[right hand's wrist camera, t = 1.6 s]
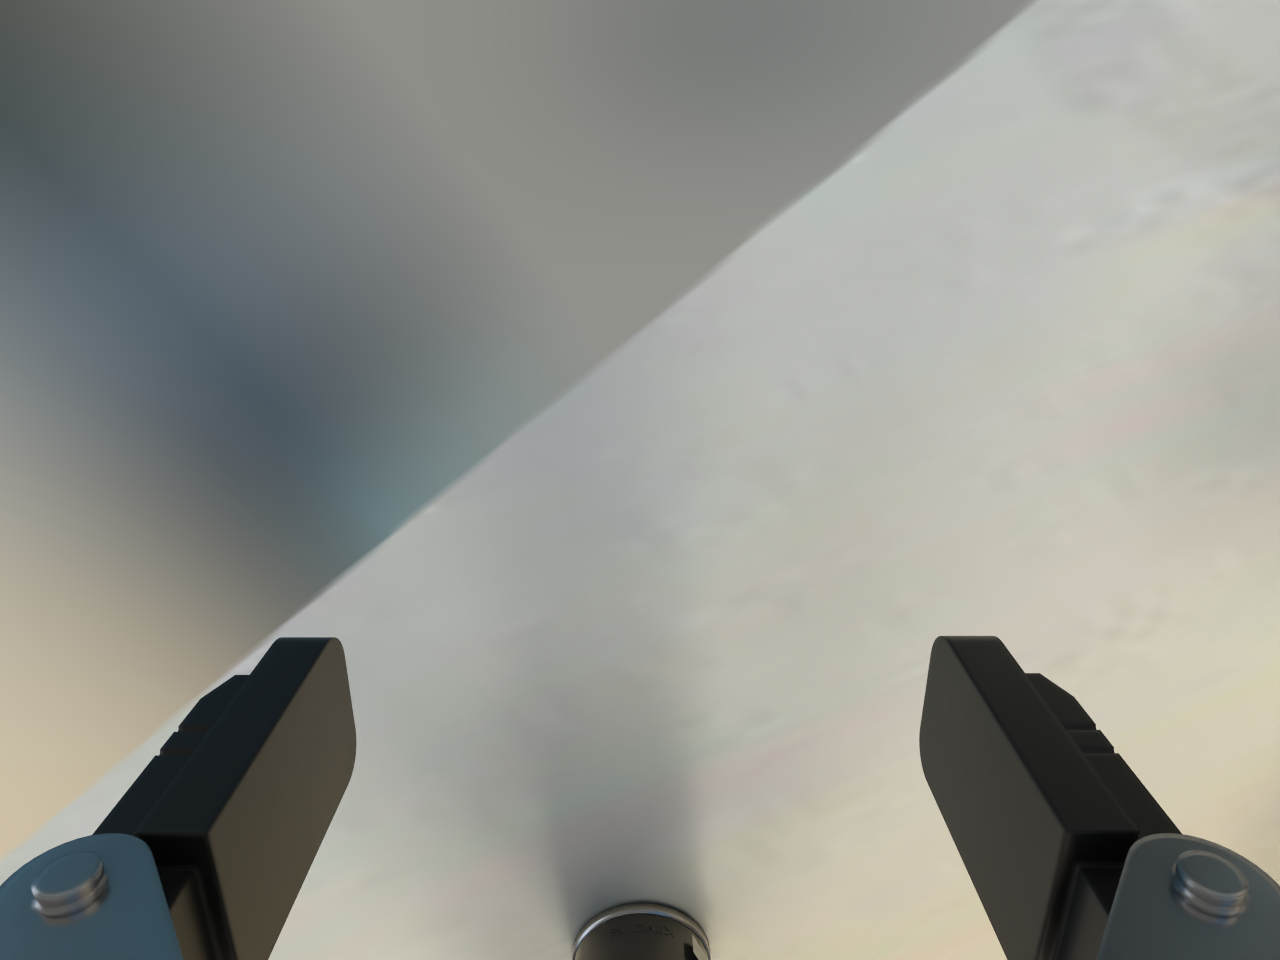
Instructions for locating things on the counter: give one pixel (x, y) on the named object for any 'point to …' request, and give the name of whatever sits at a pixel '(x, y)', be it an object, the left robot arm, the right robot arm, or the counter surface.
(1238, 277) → the counter surface
